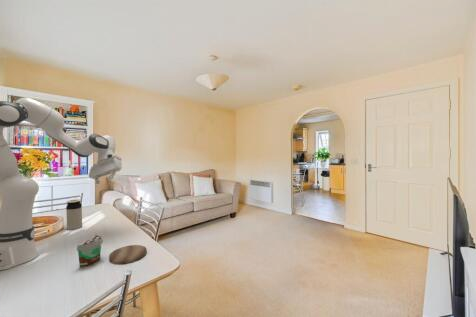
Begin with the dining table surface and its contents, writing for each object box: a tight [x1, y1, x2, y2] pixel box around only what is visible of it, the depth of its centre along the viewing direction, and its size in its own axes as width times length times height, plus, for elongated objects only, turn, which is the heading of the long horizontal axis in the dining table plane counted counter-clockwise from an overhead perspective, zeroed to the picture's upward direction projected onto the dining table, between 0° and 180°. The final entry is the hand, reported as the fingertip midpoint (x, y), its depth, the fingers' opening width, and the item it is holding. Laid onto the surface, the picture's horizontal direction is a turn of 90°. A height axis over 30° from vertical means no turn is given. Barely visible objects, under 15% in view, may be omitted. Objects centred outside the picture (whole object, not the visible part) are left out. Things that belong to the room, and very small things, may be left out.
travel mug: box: [65, 198, 83, 231], centre depth 142 cm, size 8×8×18 cm
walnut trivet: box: [108, 244, 148, 265], centre depth 104 cm, size 16×16×2 cm
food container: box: [76, 234, 104, 268], centre depth 99 cm, size 12×6×10 cm, turn 179°
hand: (104, 181), depth 125 cm, fingers open, 8 cm apart
